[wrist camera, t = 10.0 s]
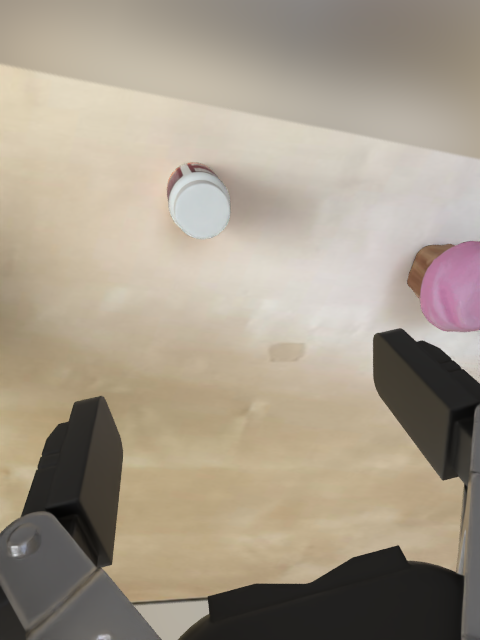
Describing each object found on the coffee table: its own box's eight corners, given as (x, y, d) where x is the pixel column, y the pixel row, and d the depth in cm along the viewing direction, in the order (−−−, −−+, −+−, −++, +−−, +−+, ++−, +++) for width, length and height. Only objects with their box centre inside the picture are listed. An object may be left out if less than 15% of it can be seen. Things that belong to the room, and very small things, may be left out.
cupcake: (383, 303, 46) (435, 351, 38) (398, 224, 42) (461, 257, 34) (456, 299, 48) (523, 344, 39) (478, 223, 44) (558, 254, 35)
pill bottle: (182, 225, 39) (187, 255, 31) (156, 176, 36) (156, 195, 29) (229, 203, 38) (246, 228, 31) (207, 152, 36) (219, 165, 29)
